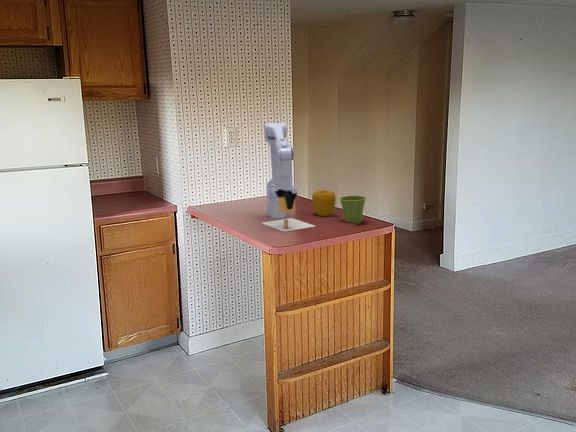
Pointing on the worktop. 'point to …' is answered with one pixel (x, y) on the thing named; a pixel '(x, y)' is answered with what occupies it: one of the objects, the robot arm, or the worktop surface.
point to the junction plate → (288, 224)
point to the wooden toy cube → (284, 205)
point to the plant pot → (353, 208)
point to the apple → (324, 202)
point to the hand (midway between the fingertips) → (286, 207)
